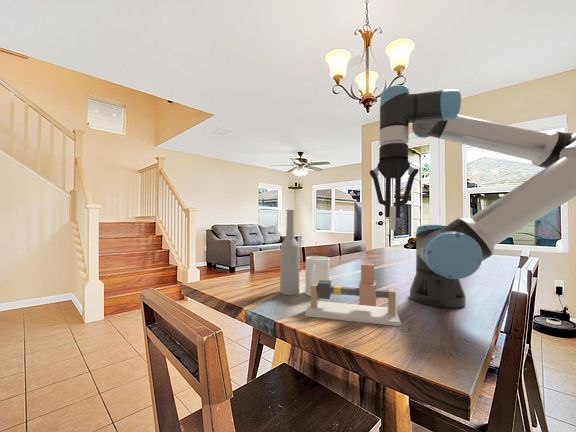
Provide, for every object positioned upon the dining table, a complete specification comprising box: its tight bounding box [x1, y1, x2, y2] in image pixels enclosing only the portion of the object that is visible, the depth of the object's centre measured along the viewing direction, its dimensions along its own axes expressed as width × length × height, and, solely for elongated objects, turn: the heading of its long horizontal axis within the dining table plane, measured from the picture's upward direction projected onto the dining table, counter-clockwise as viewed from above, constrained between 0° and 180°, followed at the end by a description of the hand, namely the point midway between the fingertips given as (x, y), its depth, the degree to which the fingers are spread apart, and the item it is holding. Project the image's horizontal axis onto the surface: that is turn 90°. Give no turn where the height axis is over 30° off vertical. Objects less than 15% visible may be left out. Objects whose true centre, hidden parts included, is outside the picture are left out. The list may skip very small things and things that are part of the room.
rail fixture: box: [304, 280, 402, 327], centre depth 72 cm, size 23×10×8 cm, turn 75°
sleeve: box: [358, 263, 377, 306], centre depth 71 cm, size 4×5×10 cm
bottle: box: [279, 209, 300, 296], centre depth 91 cm, size 7×7×28 cm
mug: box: [304, 255, 331, 297], centre depth 89 cm, size 12×8×12 cm
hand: (392, 229), depth 76 cm, fingers closed
